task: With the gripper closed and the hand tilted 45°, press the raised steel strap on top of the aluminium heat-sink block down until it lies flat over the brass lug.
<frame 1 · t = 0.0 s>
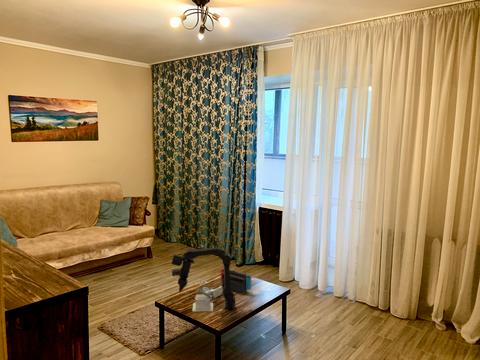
hand: (180, 288, 244), 15 cm above the table, tool pointing down, fingers open, 9 cm apart
toy car: (209, 294, 271), on the table
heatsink: (202, 301, 249), on the board, point 4 cm above the table
strap: (204, 293, 249), point 11 cm above the table, hinge at 30.0°
game console: (234, 290, 279), on the table
board: (203, 307, 250), on the table
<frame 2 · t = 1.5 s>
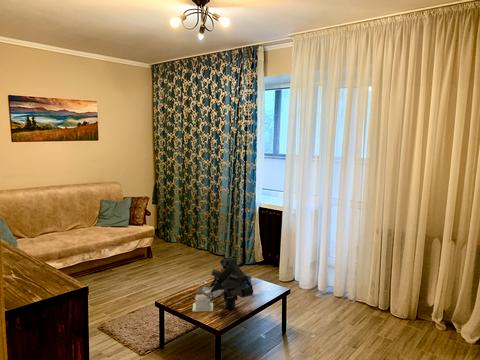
hand: (210, 289, 249), 14 cm above the table, tool tilted 45°, fingers open, 8 cm apart
nothing on the table moved.
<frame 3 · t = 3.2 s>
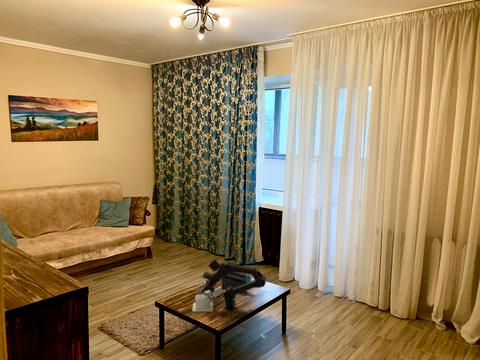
hand: (201, 291, 248), 12 cm above the table, tool tilted 45°, fingers closed, pressing on strap
strap: (204, 293, 249), point 11 cm above the table, hinge at 30.0°, touching gripper
everything else where it was.
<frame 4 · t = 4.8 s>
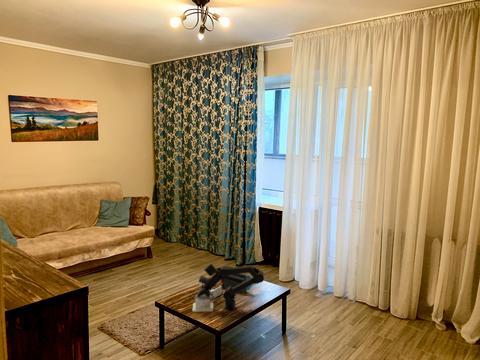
hand: (197, 295, 249), 9 cm above the table, tool tilted 45°, fingers closed
strap: (202, 296, 249), point 8 cm above the table, hinge at -1.1°, touching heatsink
everything else where it was.
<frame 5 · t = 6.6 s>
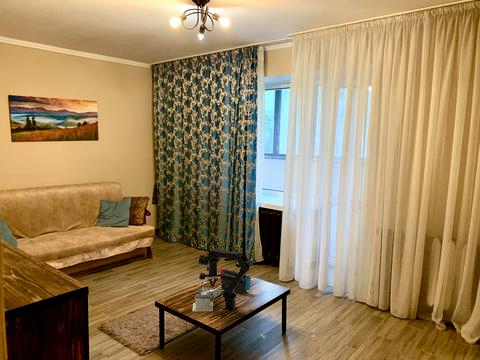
hand: (212, 287, 252), 13 cm above the table, tool pointing down, fingers closed
nothing on the table moved.
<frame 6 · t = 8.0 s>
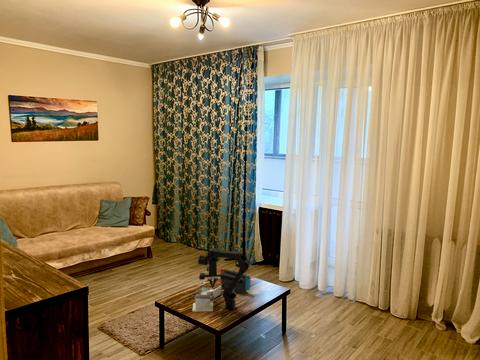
hand: (212, 287, 252), 13 cm above the table, tool pointing down, fingers closed
nothing on the table moved.
at the end: strap at -1° (first picture: +30°); toy car moved 1.2 cm from its start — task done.
